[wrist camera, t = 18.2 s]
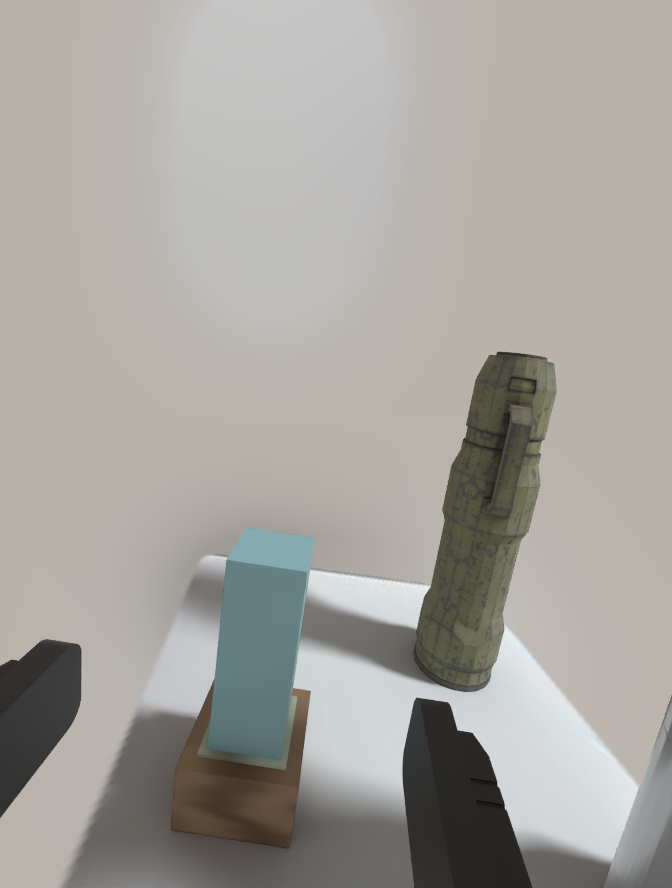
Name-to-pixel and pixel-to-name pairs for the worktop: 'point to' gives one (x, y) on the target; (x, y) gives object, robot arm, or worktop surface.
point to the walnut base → (240, 784)
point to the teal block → (259, 642)
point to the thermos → (485, 520)
